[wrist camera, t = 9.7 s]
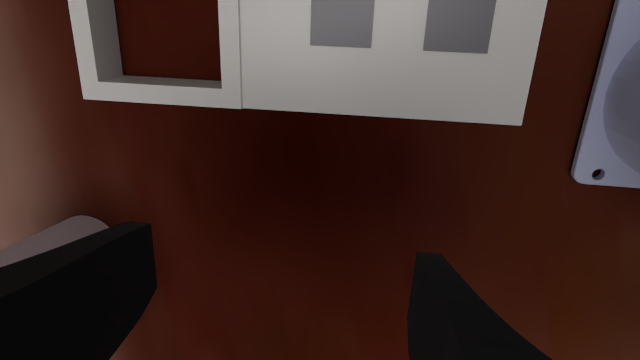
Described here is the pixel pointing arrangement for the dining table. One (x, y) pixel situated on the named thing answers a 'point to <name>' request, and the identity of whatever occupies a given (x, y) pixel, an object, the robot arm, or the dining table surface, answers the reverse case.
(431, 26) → the power strip
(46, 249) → the smoothie
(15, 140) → the dining table surface
